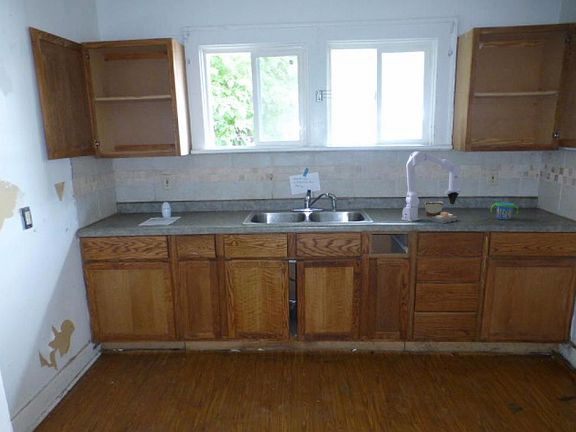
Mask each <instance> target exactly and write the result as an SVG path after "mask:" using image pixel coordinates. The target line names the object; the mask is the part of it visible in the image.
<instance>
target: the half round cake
mask: <svg viewBox="0 0 576 432" xmlns="http://www.w3.org/2000/svg"><path fill="white" fill-rule="evenodd" d="M424 206H425V217H429V218H431V217H435V216H438V215H440V214H441V212H443V211H442V210H443V206H444V202H443V201H440V200H425V202H424Z"/></svg>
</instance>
